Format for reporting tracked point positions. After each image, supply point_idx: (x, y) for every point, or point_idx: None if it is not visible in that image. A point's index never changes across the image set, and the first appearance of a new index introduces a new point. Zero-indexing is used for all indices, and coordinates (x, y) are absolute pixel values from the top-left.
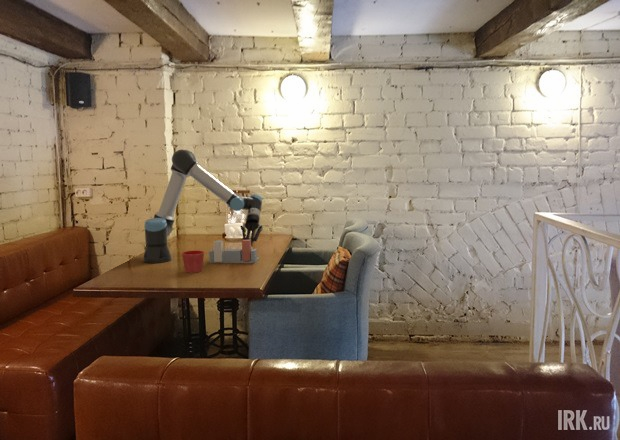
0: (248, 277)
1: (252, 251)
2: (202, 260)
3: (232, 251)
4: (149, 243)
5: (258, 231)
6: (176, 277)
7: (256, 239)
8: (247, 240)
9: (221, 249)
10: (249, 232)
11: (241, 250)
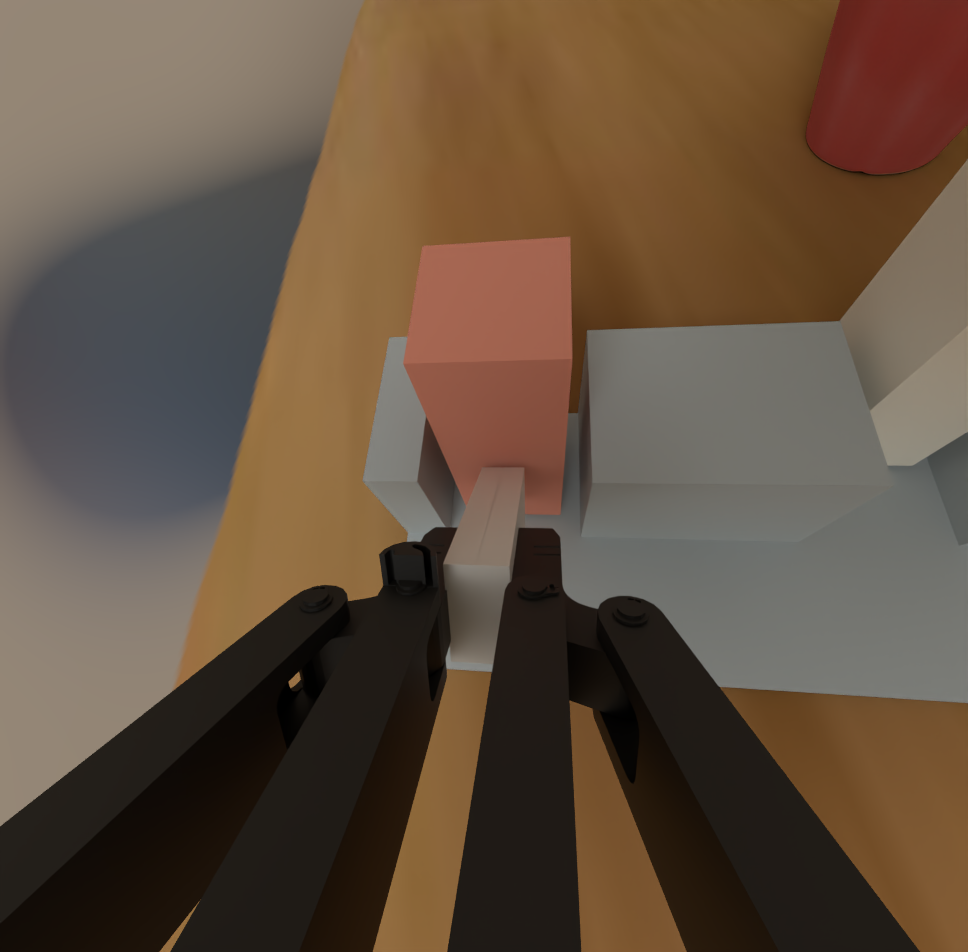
0: (430, 77)
1: None
2: (833, 32)
3: (695, 331)
4: None
5: (6, 836)
6: None
7: (298, 690)
8: (464, 275)
9: (879, 285)
10: (462, 919)
11: (589, 418)
